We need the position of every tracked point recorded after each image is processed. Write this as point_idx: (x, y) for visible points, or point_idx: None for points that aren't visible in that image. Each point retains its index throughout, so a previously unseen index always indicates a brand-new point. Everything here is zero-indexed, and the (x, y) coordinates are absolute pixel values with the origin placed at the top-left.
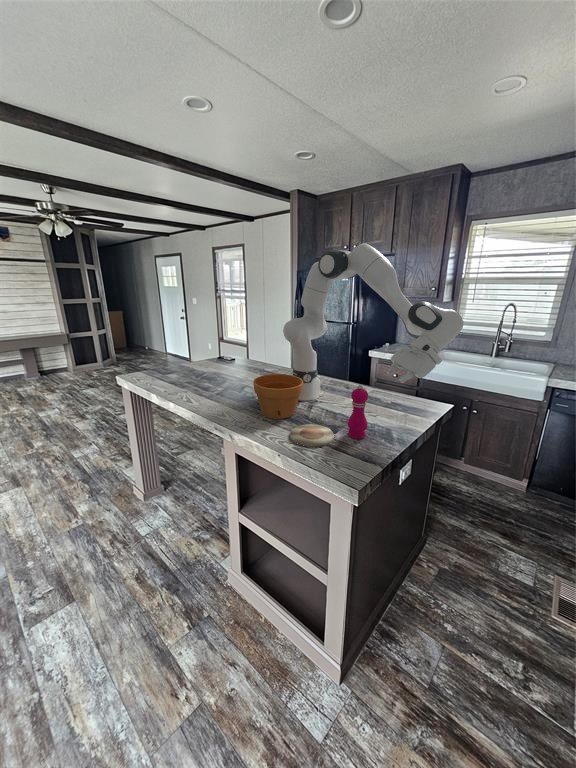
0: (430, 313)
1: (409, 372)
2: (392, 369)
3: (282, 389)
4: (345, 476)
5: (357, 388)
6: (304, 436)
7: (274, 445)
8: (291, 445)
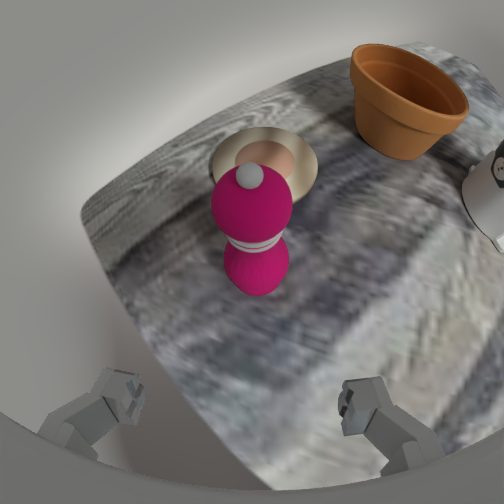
0: None
1: (47, 425)
2: (375, 425)
3: (355, 64)
4: (105, 199)
5: (264, 175)
6: (251, 146)
7: (238, 110)
8: (232, 131)
